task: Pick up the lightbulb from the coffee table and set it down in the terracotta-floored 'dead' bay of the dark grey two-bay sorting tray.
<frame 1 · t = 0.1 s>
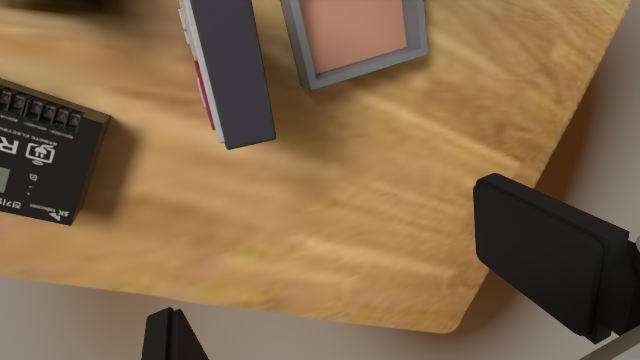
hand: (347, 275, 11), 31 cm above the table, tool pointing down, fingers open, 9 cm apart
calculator: (213, 54, 36), on the table
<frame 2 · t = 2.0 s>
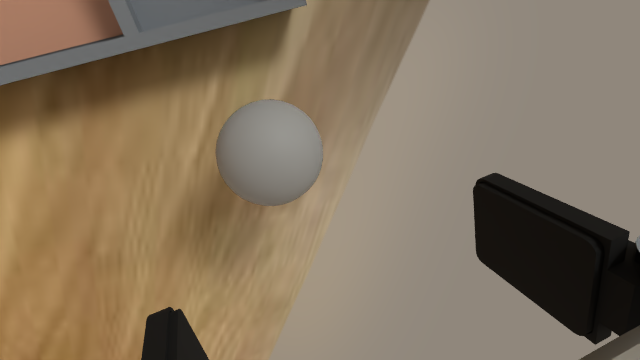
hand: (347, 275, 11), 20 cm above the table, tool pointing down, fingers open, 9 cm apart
lightbulb: (249, 122, 28), on the table
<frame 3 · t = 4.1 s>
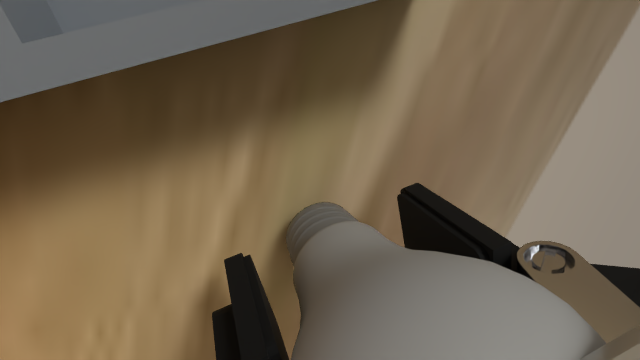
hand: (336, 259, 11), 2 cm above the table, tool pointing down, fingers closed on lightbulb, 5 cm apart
lightbulb: (311, 221, 14), on the table, touching gripper
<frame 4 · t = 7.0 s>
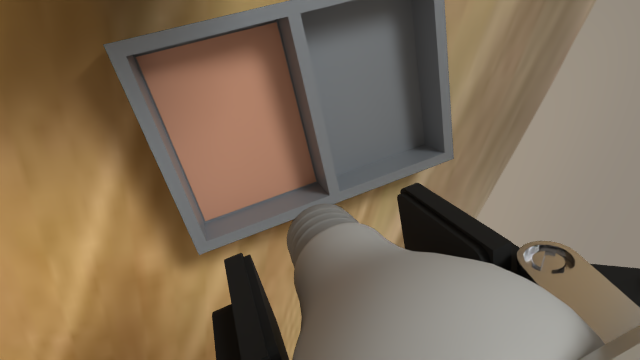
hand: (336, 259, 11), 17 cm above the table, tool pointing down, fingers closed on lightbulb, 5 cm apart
sorting tray: (301, 105, 27), on the table
lightbulb: (311, 222, 14), point 15 cm above the table, touching gripper
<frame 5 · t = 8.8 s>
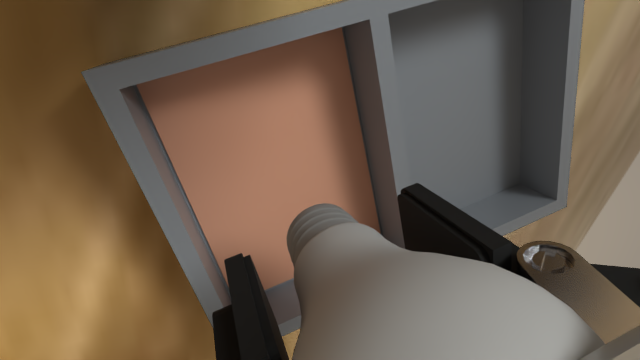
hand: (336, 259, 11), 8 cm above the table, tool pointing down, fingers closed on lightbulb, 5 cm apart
sorting tray: (366, 140, 20), on the table
lightbulb: (311, 222, 14), point 6 cm above the table, touching gripper
when the fingers open (5 cm above the table, at t = 9.9 s): lightbulb drops 1 cm, resting on sorting tray.
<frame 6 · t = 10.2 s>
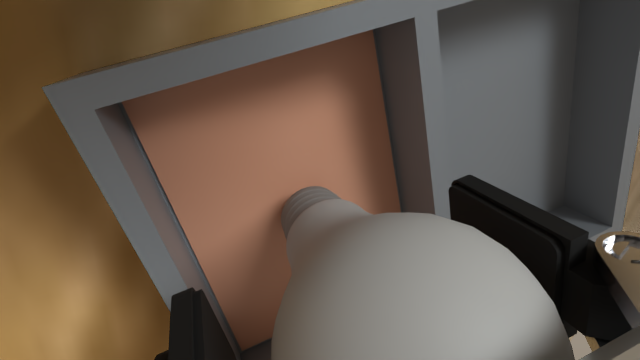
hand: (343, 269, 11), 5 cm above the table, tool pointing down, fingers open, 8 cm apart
sorting tray: (394, 160, 17), on the table
lightbulb: (304, 205, 15), point 1 cm above the table, touching sorting tray
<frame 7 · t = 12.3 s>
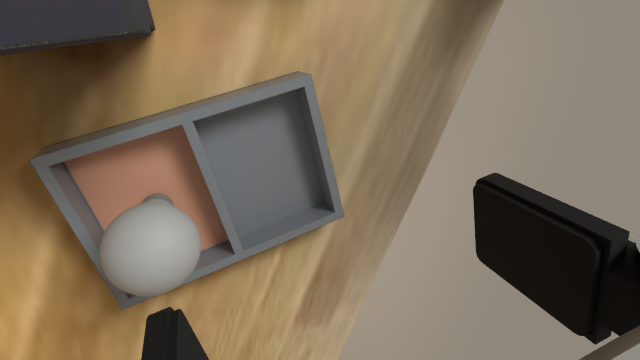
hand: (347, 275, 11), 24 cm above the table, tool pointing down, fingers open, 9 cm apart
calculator: (68, 17, 26), on the table
sorting tray: (211, 179, 33), on the table
lightbulb: (158, 202, 31), point 1 cm above the table, touching sorting tray
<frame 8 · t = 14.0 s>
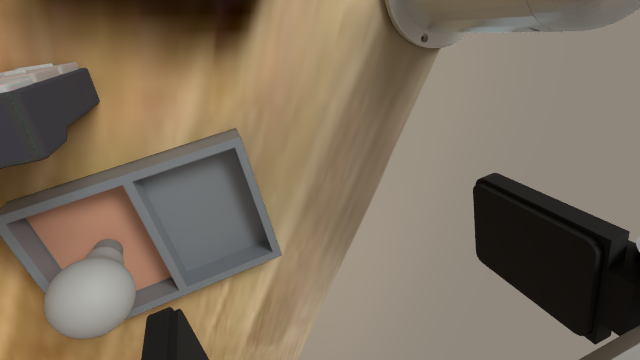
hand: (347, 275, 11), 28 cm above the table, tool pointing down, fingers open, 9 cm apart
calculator: (22, 95, 30), on the table
sorting tray: (159, 223, 37), on the table
lightbulb: (110, 245, 36), point 1 cm above the table, touching sorting tray
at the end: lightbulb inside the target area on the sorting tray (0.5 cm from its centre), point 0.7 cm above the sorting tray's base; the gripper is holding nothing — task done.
